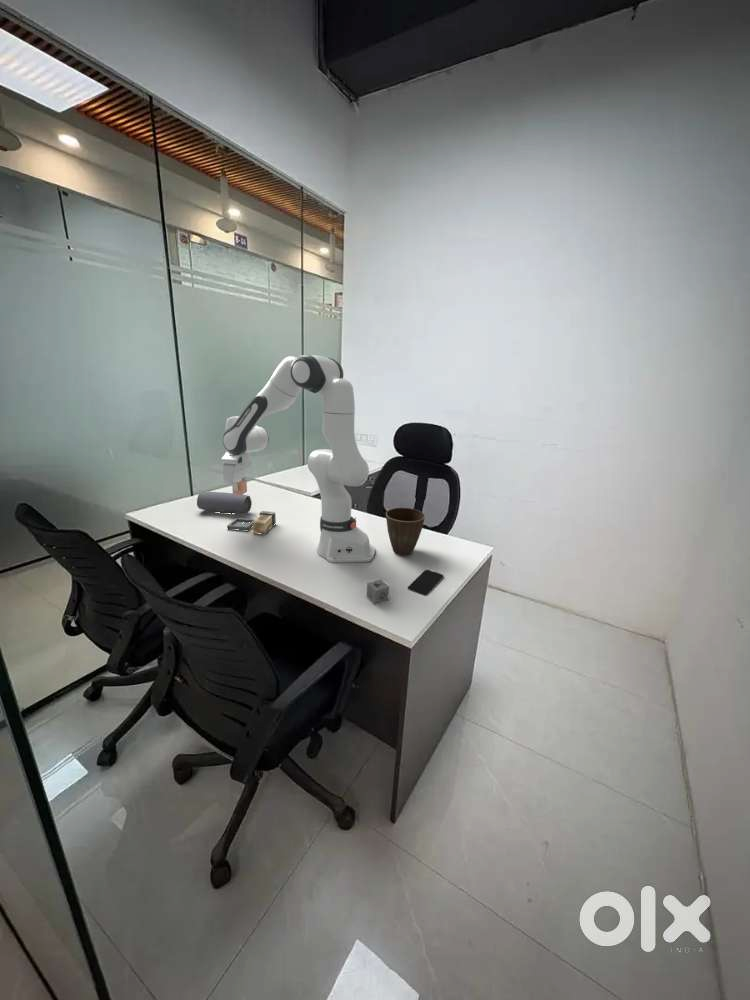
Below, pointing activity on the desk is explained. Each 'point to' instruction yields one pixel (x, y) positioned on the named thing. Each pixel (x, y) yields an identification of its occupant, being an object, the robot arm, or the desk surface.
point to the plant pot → (404, 529)
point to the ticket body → (264, 522)
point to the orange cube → (241, 487)
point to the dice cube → (377, 592)
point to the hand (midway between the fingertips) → (239, 488)
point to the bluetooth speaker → (224, 502)
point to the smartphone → (425, 582)
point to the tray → (238, 524)
